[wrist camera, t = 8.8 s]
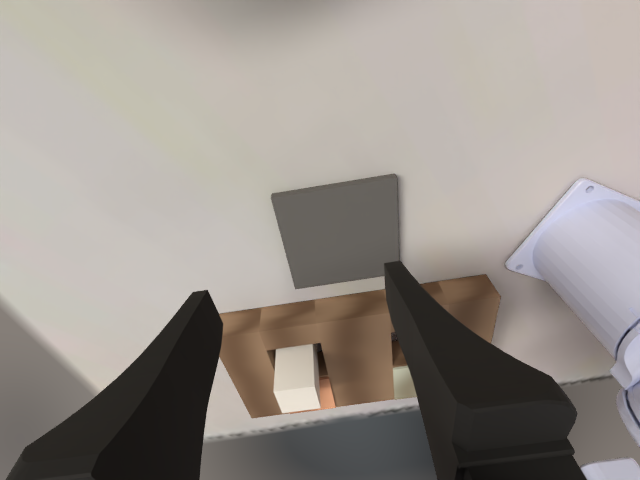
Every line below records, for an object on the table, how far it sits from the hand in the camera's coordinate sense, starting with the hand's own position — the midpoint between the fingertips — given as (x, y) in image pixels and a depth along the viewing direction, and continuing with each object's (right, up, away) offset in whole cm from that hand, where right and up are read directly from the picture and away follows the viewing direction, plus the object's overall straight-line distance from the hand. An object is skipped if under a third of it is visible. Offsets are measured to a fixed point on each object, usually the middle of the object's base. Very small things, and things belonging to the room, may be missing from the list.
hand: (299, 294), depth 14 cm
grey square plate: (+2, +3, +10) cm, 11 cm away
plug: (-1, -6, +16) cm, 18 cm away
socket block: (+4, -7, +17) cm, 19 cm away
